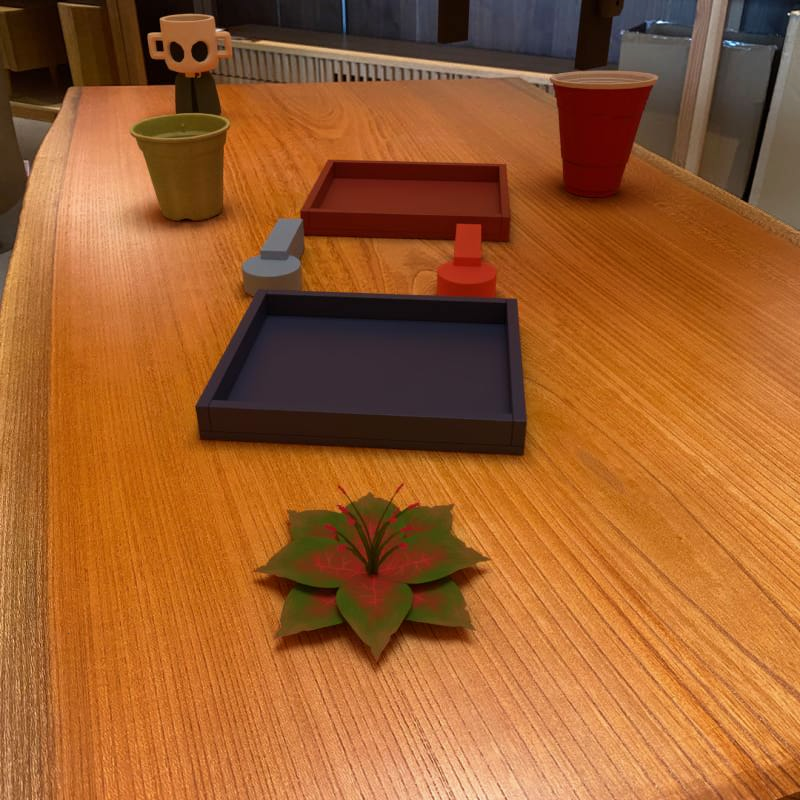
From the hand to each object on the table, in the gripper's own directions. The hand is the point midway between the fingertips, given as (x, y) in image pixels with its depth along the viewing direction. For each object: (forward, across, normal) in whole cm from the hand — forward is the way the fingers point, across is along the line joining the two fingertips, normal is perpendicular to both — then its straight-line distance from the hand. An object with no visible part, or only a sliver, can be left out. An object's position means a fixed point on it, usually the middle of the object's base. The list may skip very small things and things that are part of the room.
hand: (516, 54), depth 63 cm
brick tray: (+18, -17, +5) cm, 25 cm away
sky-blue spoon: (+18, -13, -14) cm, 26 cm away
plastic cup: (+18, -9, +24) cm, 31 cm away
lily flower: (+18, +21, -32) cm, 42 cm away
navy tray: (+18, +6, -19) cm, 27 cm away
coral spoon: (+18, -1, -3) cm, 18 cm away
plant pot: (+18, -31, -12) cm, 38 cm away
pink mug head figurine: (+18, -64, +8) cm, 67 cm away
